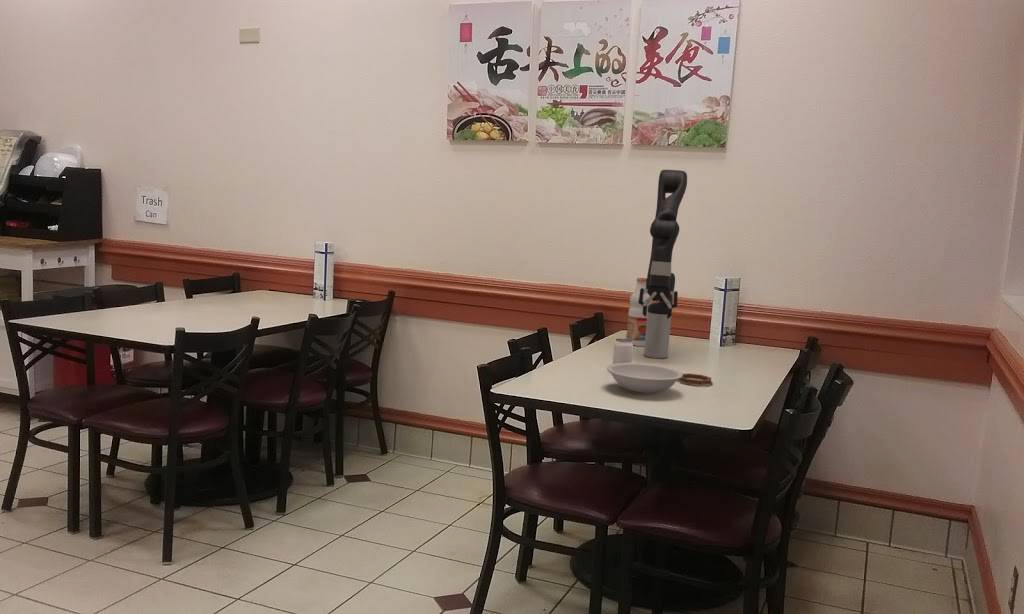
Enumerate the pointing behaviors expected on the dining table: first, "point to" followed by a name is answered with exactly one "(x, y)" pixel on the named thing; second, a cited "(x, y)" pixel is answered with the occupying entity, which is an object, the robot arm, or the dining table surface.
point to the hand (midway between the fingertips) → (656, 317)
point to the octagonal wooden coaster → (695, 380)
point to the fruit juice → (637, 315)
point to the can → (622, 351)
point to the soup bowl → (644, 376)
